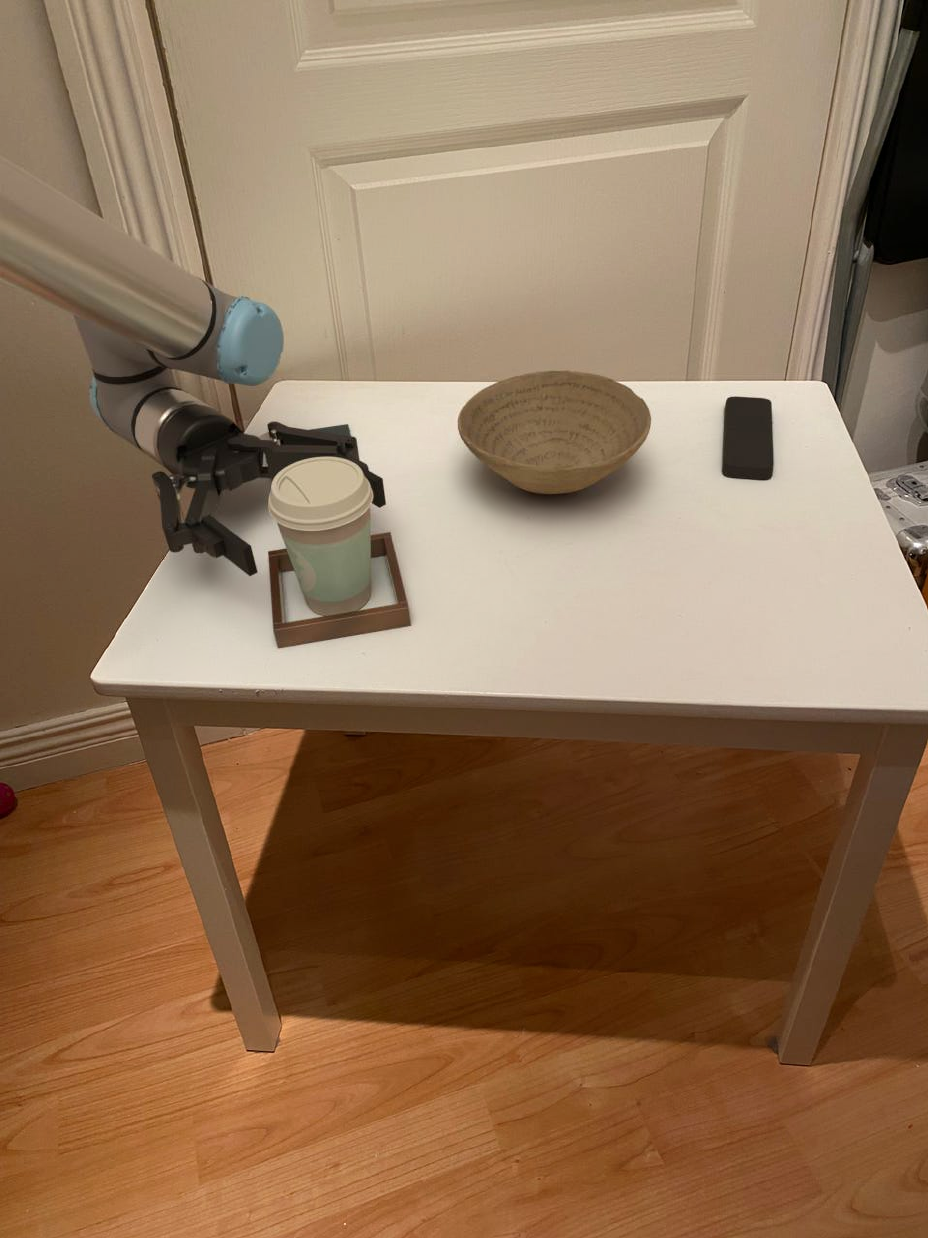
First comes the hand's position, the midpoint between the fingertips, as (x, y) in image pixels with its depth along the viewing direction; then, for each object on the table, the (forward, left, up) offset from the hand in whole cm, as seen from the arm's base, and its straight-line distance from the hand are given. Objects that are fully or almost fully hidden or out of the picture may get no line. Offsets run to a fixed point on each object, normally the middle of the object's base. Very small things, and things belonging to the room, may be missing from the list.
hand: (318, 526), depth 79 cm
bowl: (+24, +11, -7) cm, 27 cm away
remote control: (+45, +14, -7) cm, 48 cm away
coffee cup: (+1, -1, -7) cm, 7 cm away
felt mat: (0, +24, -7) cm, 25 cm away
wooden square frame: (+1, -1, -7) cm, 7 cm away
